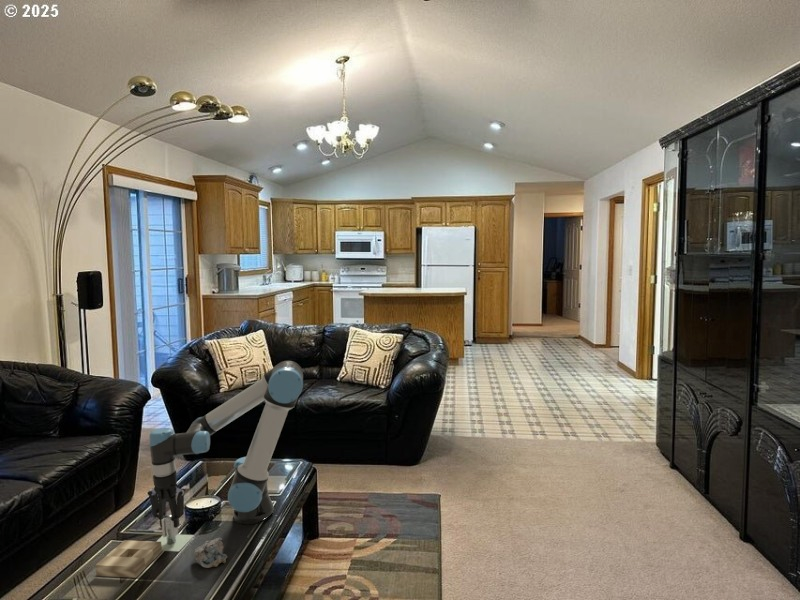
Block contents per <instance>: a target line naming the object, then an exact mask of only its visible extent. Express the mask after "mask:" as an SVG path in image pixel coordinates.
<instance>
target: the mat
mask: <svg viewBox="0 0 800 600" xmlns="http://www.w3.org/2000/svg"><path fill="white" fill-rule="evenodd" d="M194 536H195V534H180V533H178V534H177V535H176V542H175V543H174V544H171V545H168V544H167V539H166V537H163V534H162V535H161V537H159V538H158V539H157V540H156V542H161V545H162V552H164V551H165V552H180V551H181V550H182V549H183V548H184V546H186V545H187V544H188V542H189V541H191V540H192V539H193V537H194Z"/></svg>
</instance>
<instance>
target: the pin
mask: <svg viewBox="0 0 800 600" xmlns="http://www.w3.org/2000/svg"><path fill="white" fill-rule="evenodd" d="M164 519H165V529H166V539H167V544H168V545H171V544H174V543H175V542H176V536H175V537H174V538H172V532H171V522H170V520H171V519H172V515H171V513H166V515H165V516H164Z"/></svg>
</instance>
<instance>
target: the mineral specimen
mask: <svg viewBox="0 0 800 600" xmlns="http://www.w3.org/2000/svg"><path fill="white" fill-rule="evenodd" d="M224 549H225V545H224V539H223V537H216V538H214V539H211V540H205V541H204V543H203V544H201V545H199V546H198V547H196V548H195V549H194V553H193V555H194V556H195V558H194V561H195V562H196V563H197V564H198V565H200V566H201V567H203V568H206V569H210V568H213V567H214V568H215V567H216V568H217V567H218V566H219V565H220V564H224V565H225V564H226V562H227V559H228V555H227V554H226V552H224Z"/></svg>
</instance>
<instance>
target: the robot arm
mask: <svg viewBox="0 0 800 600" xmlns="http://www.w3.org/2000/svg"><path fill="white" fill-rule="evenodd" d="M303 387H304V373H303V368H302V366H300V365H299V364H298V363H297V362H295V361H292V360H284V361H280V362H279V363H278V364H276V365H274V366H273V368H271V369H270V370H268V371H267V372H265V373H264V374H263V375H262V378H261V379H259V380H258V381H256V382H255V383H253V384H252V385H250V386H248V387H247V388H245V389H243V390H242V391H241V392H239V393H238V394H236V395H235V396H233V397H231V398H230V399H227V400H226V401H225V402H224V403H222V404H221V405H219V406H217V407H216V408H214V409H213V410H211V411H209V412H208V413H207V414H205V415H204V416H200V417H197V418H196V419H195V420H194V421H192V423H191V424H190V426H189V428H188V429H187V431H186V432H181V433H174V432H173V429H172V428H170V427H161V428H160V427H159V428H157V429H154V430H152V431H151V432H150V434H149V445H148V446H149V449H150V458H151V469H152V475H153V476H152V479H153V486H154V487H152V488H151V489H150V490H148V491H147V496H148V497H149V499H150V504H151V509H152V516H153V518H158V519H159V527H160V528H162V530H161V531H162V532H161V533H162V535H163V537H166V529H165V519H164V516H165V515H167V513H166V510H167V509H166V508H167V503H168V506H169V511H170V514H171V515H172V519H171V520H170V522H171V532H172V538H174V537H175V536H176V535H177V534H179V526H180V518H181V517H182V516H184V515H185V513H184V512H185V505H184V504H185V503H184V502H185V493H186V489H184V488H182V489H181V488H179V485H178V483H177V482H178V475H177V470H176V469H177V467H176V456H184V455H186V456H187V455H199V454H203V453H207V452H209V450H210V446H211V436H212V435H213V434H215V433H216V432H217V431H219V430H221V429H222V428H224V427H226V426H227V425H229V424H230V423H231V422H234V421H235V420H236V419H238V418H239V417H241V416H243V415H244V414H245V413H247V412H249V411H250V410H252V409H253V408H255V407H257V406H258V405H260V404H261V403H262V402H265V405H264V407H263V410H262V413H261V416H260V418H259V422H258V423H257V426H256V429H255V432H254V434H253V437H252V440H251V443H250V445H249V448H248V450H247V454H246V456H243V457H240V458H238V459H236V460H235V461H234V466H233V468H234V476H233V479H232V481H231V485H230V488H229V489H228V492H227V501H228V503H229V506H230V507H231V509H233V520H234V522H236V523H238V524H240V525H255V524H259V523H261V522H260V521H262V520H263V519H264V518H266V517H267V516H269V515H270V514H271V513H272V512H273V510H274V511H275V508H274V504H273V501H272V499H271V497H270V495H269V491H268V480H269V477H270V474H269V473H270V472H268V467H269V465H270V462H271V460H272V456H273V454H274V451H275V449H276V446H277V443H278V441H279V438H280V436H281V432H282V430H283V427H284V424H285V421H286V418H287V416H288V413H289V411H290V410H292V409H293V408H295V406H296V404H297V401H298V398H299V396H300V395H301V393H302V391H303ZM273 513H274V512H273ZM258 522H259V523H258ZM262 522H263V521H262Z"/></svg>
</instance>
